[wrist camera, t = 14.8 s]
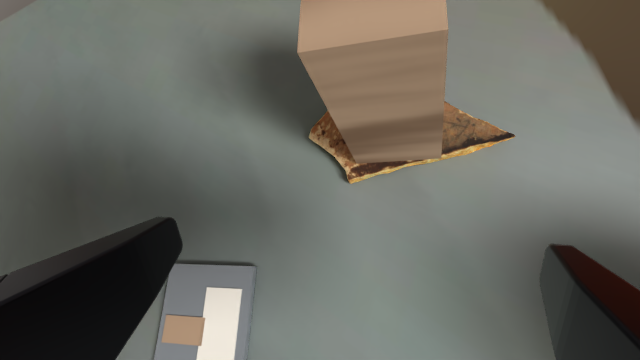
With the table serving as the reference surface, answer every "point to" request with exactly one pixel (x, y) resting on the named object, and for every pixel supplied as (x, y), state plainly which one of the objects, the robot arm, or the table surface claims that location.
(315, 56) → the walnut block
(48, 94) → the table surface
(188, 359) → the card
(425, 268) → the table surface
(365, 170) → the shard
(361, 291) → the table surface
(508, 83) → the table surface
